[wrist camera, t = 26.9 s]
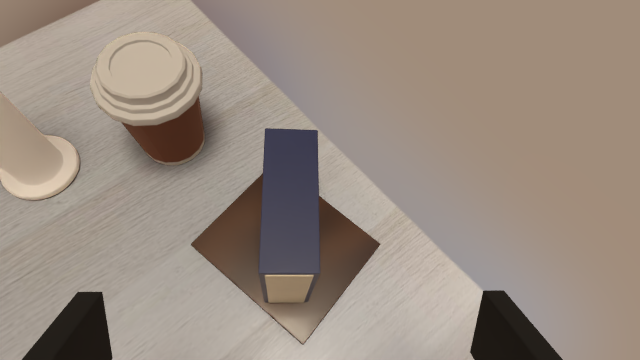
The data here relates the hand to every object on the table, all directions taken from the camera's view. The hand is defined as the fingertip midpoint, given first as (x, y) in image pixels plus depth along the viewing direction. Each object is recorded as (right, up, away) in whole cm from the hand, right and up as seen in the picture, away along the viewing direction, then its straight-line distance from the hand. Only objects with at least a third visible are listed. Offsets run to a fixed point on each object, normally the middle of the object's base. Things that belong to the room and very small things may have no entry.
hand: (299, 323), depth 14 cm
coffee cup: (-15, +9, +29) cm, 34 cm away
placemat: (-2, -1, +25) cm, 26 cm away
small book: (-2, -1, +25) cm, 25 cm away
